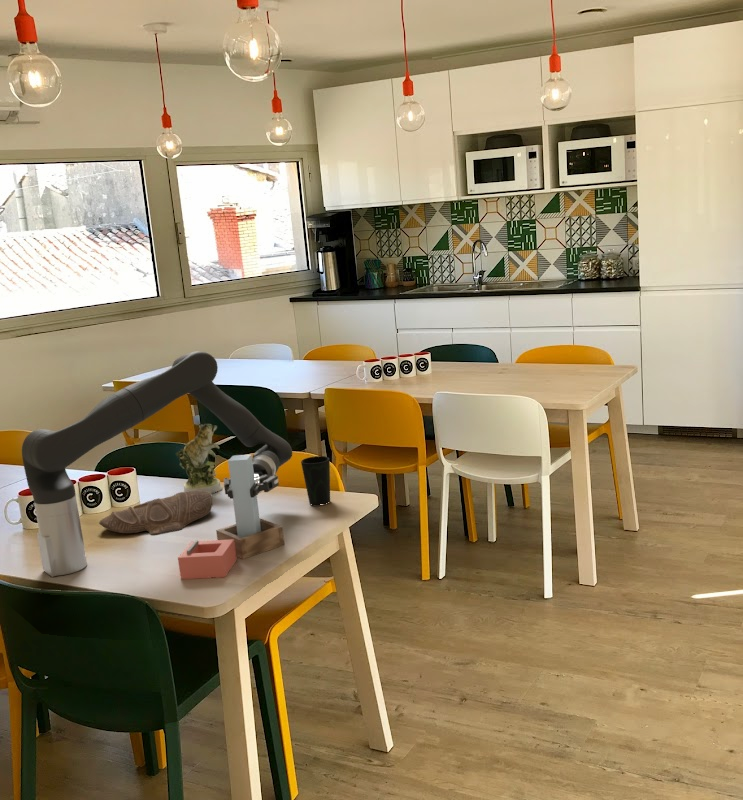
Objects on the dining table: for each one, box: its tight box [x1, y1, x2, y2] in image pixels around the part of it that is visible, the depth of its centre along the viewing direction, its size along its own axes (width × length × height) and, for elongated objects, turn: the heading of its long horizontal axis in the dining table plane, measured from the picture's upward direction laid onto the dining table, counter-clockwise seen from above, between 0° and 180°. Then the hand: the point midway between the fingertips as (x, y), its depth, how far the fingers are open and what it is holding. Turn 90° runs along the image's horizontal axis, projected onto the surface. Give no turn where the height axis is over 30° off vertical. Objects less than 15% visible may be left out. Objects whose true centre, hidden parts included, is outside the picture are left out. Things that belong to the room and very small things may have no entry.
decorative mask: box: [98, 490, 213, 536], centre depth 243 cm, size 23×7×30 cm
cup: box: [300, 455, 331, 505], centre depth 245 cm, size 8×8×12 cm
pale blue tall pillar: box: [227, 453, 261, 538], centre depth 215 cm, size 4×4×20 cm
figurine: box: [175, 423, 223, 495], centre depth 267 cm, size 12×14×20 cm
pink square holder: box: [177, 539, 238, 580], centre depth 204 cm, size 10×10×6 cm
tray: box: [215, 518, 285, 560], centre depth 216 cm, size 11×11×4 cm
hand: (241, 494), depth 212 cm, fingers closed on pale blue tall pillar, 4 cm apart
